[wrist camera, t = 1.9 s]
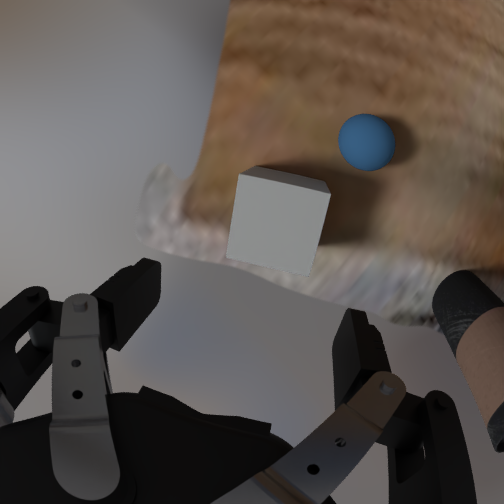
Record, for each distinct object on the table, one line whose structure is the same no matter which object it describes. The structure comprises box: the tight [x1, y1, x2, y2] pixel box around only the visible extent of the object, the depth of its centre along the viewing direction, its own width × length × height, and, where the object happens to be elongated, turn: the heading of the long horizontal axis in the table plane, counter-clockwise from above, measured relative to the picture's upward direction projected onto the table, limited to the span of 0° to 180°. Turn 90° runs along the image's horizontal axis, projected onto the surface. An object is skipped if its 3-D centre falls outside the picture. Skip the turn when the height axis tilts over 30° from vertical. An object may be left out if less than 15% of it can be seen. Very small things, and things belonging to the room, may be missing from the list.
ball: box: [338, 114, 395, 171], centre depth 22 cm, size 5×5×5 cm
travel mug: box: [432, 271, 504, 453], centre depth 19 cm, size 8×8×20 cm
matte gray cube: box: [226, 166, 331, 277], centre depth 25 cm, size 7×7×7 cm
